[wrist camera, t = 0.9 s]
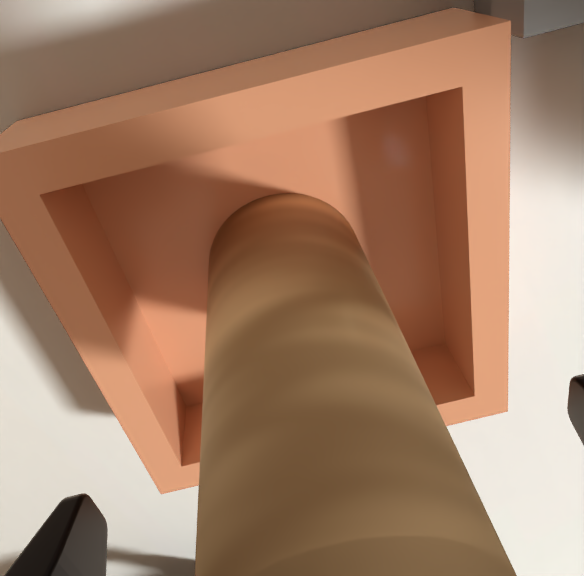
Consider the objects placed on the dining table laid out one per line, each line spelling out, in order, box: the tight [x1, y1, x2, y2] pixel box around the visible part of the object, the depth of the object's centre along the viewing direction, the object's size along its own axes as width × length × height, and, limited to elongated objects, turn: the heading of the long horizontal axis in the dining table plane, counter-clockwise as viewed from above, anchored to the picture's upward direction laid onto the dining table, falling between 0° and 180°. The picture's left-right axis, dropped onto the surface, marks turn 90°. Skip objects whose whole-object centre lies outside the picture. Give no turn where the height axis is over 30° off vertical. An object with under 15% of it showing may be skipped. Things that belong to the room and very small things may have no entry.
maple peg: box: [195, 193, 516, 576], centre depth 11 cm, size 4×4×10 cm
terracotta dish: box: [0, 8, 511, 494], centre depth 15 cm, size 11×11×3 cm
